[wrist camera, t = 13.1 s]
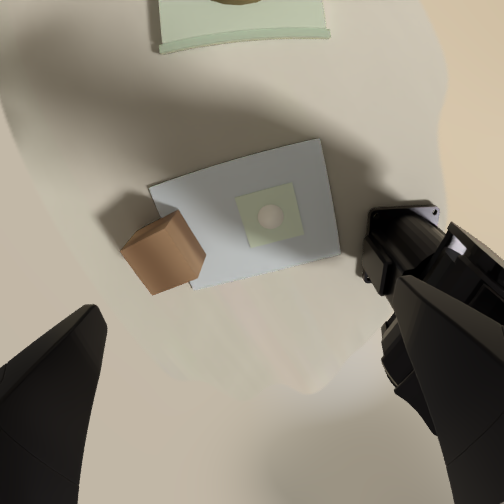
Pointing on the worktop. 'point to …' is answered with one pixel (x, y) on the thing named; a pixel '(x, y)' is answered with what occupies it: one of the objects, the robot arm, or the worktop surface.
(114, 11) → the worktop surface
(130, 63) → the worktop surface
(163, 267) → the brick
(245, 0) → the cork
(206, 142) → the worktop surface
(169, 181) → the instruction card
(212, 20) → the baseplate
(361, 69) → the worktop surface
